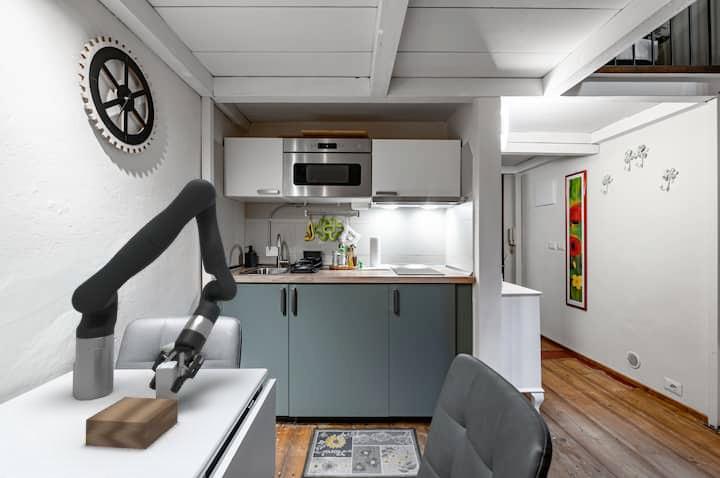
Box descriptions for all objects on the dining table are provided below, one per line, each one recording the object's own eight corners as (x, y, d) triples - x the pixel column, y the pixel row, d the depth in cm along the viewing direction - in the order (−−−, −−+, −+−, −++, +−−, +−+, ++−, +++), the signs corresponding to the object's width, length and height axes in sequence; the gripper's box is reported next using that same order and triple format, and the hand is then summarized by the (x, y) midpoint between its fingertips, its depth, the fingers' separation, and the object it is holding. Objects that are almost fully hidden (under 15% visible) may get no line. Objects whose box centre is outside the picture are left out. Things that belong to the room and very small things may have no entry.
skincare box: (173, 414, 96) (173, 367, 96) (154, 415, 95) (155, 368, 95) (179, 404, 102) (179, 360, 102) (161, 405, 101) (162, 361, 101)
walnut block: (85, 446, 81) (86, 419, 81) (124, 420, 93) (125, 396, 93) (145, 450, 80) (146, 422, 80) (177, 423, 92) (177, 399, 92)
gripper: (168, 325, 108) (132, 380, 97) (209, 329, 104) (177, 387, 93) (181, 339, 113) (148, 393, 102) (221, 343, 109) (192, 399, 98)
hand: (162, 390), depth 97 cm, fingers closed on skincare box, 6 cm apart
